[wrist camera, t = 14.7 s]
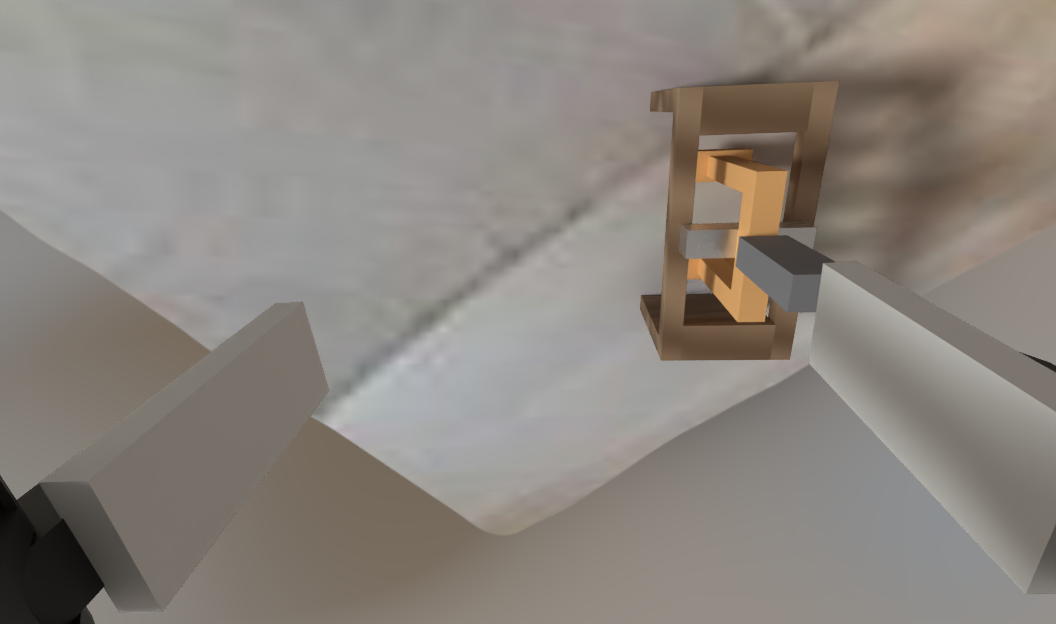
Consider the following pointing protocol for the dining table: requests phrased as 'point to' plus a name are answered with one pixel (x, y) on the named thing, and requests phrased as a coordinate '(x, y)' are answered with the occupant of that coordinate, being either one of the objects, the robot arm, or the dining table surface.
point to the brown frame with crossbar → (712, 110)
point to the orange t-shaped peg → (757, 243)
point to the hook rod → (732, 238)
